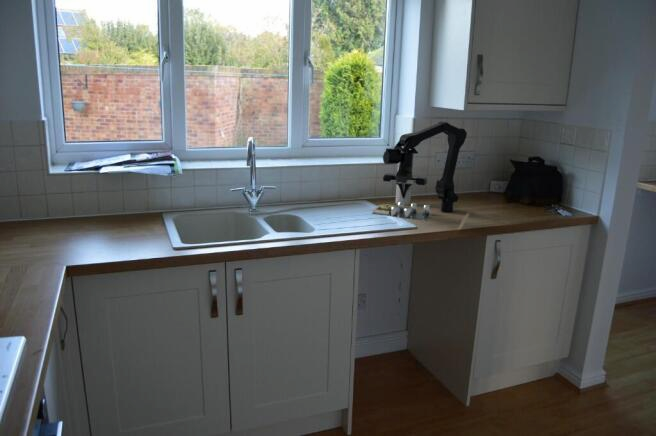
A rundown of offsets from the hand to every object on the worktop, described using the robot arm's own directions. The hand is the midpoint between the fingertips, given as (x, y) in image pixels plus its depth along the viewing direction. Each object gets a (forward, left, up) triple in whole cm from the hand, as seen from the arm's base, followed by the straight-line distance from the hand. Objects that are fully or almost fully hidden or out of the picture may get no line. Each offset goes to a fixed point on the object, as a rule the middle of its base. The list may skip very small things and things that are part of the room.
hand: (403, 198), depth 235 cm
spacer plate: (0, 0, -8) cm, 8 cm away
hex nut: (0, -8, -7) cm, 11 cm away
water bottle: (-22, -6, -9) cm, 24 cm away
